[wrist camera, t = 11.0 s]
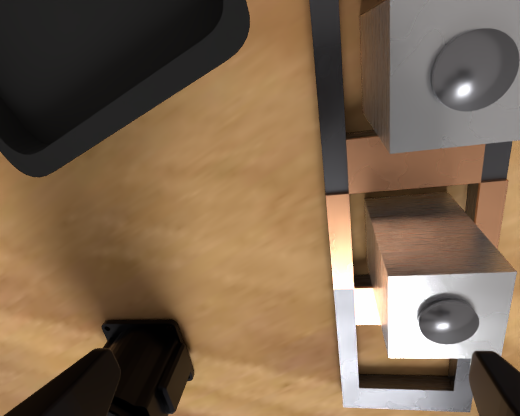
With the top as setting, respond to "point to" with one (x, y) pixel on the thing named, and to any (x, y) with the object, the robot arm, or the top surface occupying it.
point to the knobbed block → (435, 278)
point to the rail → (384, 179)
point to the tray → (100, 68)
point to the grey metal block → (441, 72)
